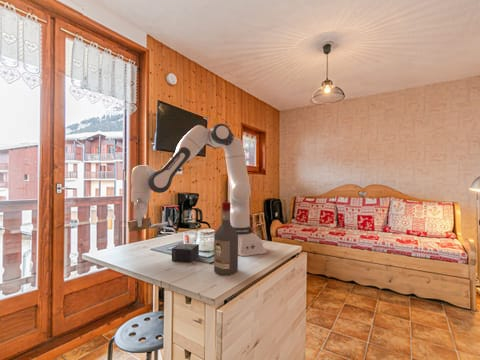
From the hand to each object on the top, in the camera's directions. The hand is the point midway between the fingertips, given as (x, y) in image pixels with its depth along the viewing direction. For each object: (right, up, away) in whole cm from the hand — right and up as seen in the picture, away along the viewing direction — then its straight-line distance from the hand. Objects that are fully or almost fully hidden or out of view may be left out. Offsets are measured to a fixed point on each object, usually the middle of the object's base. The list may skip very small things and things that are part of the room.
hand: (140, 225), depth 122 cm
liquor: (+43, -17, -15) cm, 49 cm away
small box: (+17, -14, +3) cm, 22 cm away
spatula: (+4, -1, +1) cm, 4 cm away
